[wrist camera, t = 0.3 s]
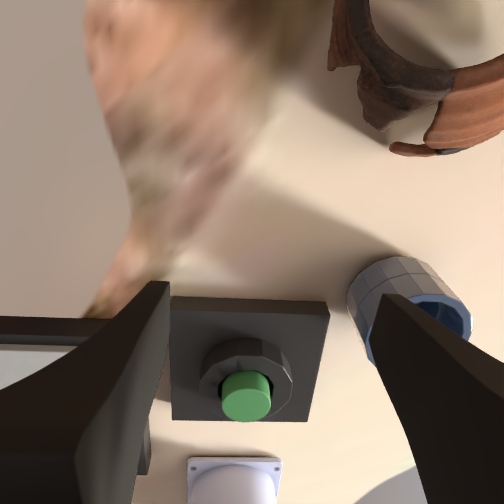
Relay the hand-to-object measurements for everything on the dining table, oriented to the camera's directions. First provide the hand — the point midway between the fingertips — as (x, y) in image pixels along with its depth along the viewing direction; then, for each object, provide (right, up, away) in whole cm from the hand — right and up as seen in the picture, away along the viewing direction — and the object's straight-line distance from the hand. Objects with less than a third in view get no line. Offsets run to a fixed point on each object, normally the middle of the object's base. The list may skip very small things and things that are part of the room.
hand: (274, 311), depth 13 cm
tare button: (-1, -7, +12) cm, 13 cm away
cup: (+8, -1, +12) cm, 14 cm away
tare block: (-1, -5, +14) cm, 15 cm away
